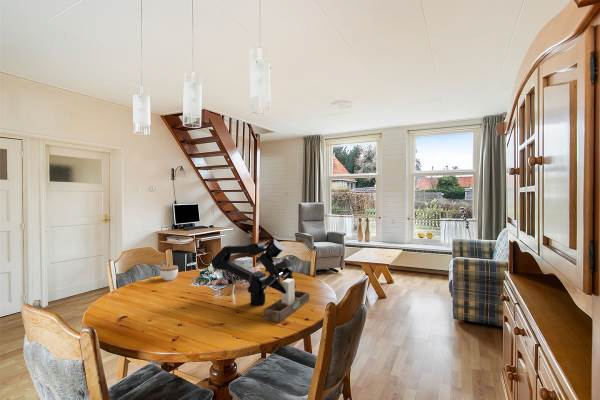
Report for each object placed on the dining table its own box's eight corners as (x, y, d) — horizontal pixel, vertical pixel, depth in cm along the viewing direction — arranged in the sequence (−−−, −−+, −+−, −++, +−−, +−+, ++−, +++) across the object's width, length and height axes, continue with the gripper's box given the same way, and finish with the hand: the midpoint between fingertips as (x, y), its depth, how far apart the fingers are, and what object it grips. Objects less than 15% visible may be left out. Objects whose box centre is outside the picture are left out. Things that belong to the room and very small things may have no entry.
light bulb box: (246, 272, 207) (246, 256, 207) (253, 273, 203) (253, 257, 203) (234, 275, 199) (233, 258, 199) (240, 277, 194) (240, 260, 194)
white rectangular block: (281, 308, 137) (281, 281, 137) (288, 303, 142) (287, 278, 142) (288, 309, 135) (288, 282, 135) (294, 304, 141) (294, 279, 141)
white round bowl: (172, 282, 183) (171, 266, 183) (156, 281, 185) (155, 266, 185) (181, 277, 194) (181, 262, 194) (166, 276, 195) (166, 262, 195)
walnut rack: (263, 318, 128) (263, 309, 128) (294, 298, 153) (294, 290, 153) (280, 322, 124) (280, 312, 124) (309, 300, 150) (309, 292, 150)
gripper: (269, 256, 132) (292, 284, 127) (289, 249, 149) (310, 274, 144) (254, 272, 135) (276, 300, 131) (276, 264, 152) (295, 288, 147)
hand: (290, 290), depth 138 cm, fingers open, 9 cm apart
